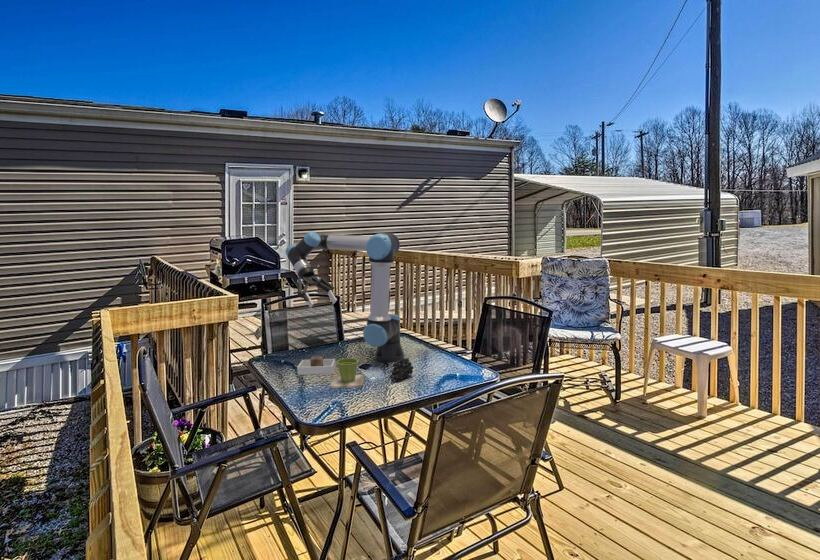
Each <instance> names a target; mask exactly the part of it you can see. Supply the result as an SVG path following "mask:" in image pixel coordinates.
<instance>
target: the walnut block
mask: <svg viewBox="0 0 820 560" xmlns="http://www.w3.org/2000/svg"><path fill="white" fill-rule="evenodd" d="M323 357H324V356H317V355H316V356H311V358H310V359H309V360H310V363H311V367H315V366H323V359H324V358H323Z"/></svg>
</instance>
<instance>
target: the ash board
mask: <svg viewBox="0 0 820 560" xmlns="http://www.w3.org/2000/svg"><path fill="white" fill-rule="evenodd" d="M365 377H366V376H365V374H355V380H354V381H350V382H343V381H341V377H340V375H333V377H332V380H331V382H330V385H329V389H350V388H364V387H363V386H364V382H365Z"/></svg>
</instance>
